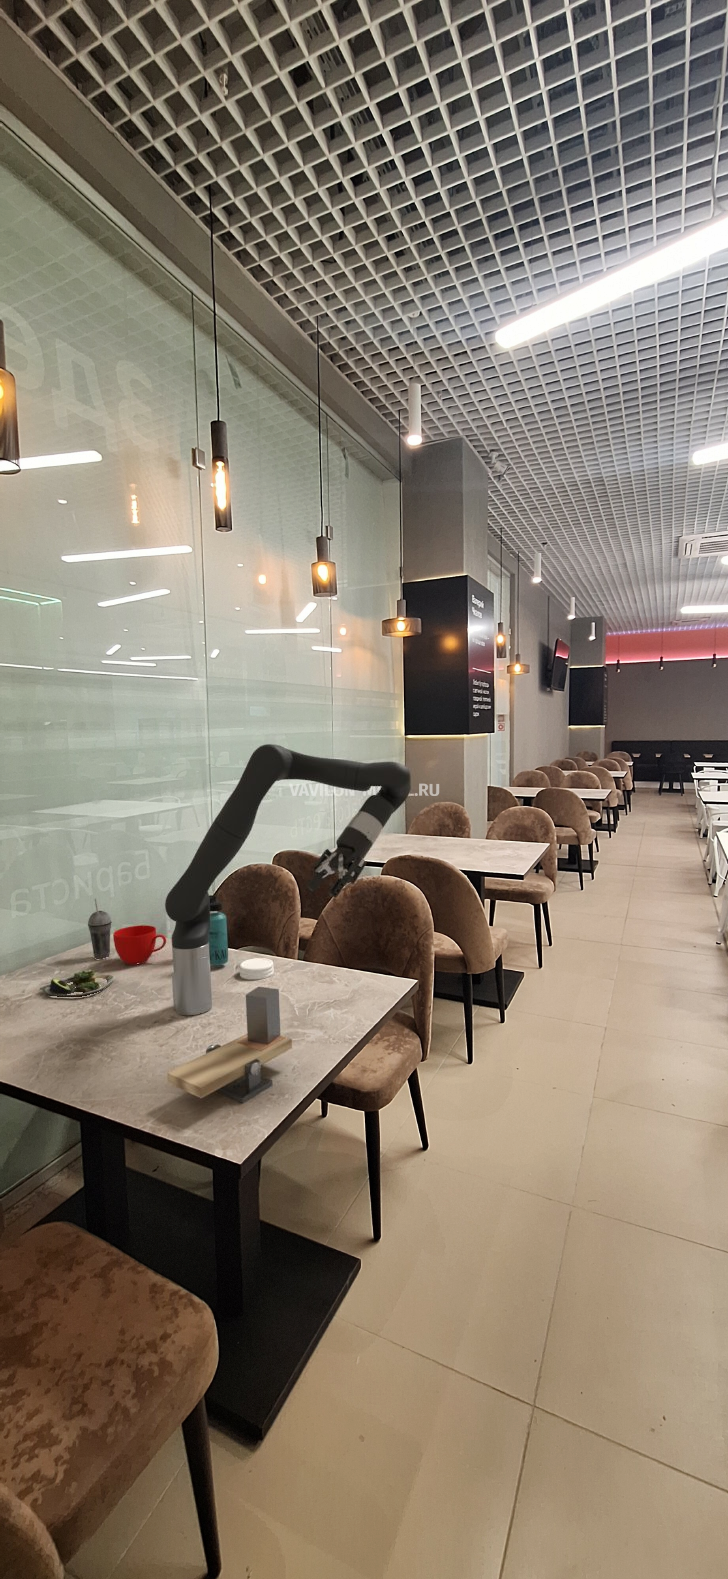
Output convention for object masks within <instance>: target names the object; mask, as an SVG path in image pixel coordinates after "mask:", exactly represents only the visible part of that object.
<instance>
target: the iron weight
mask: <svg viewBox="0 0 728 1579" xmlns="http://www.w3.org/2000/svg"><path fill="white" fill-rule="evenodd" d="M279 989H280V988H272V987H265V986H257V987H256V988H254V989H253V990H251V991H250V992H248V993H246V994H245V1005H246V1006H245V1007H246V1026H247V1027H246V1030H247V1033H246V1034H247V1036H248V1041H249V1042H255V1043H260V1044H266V1045H269V1044H270V1043H271V1042H272V1041H274V1040H275V1039H276V1038H277V1037H279V1036H280V1035H281V1018H280V1017H281V1015H280V1014H281V1013H280V990H279ZM281 1036H282V1035H281Z"/></svg>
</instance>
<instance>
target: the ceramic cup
mask: <svg viewBox="0 0 728 1579" xmlns="http://www.w3.org/2000/svg"><path fill="white" fill-rule="evenodd" d="M158 938H161V939H162V941H163V942H162V944H161V946H159V947H157V948H156V947H155V946H156V942H157V939H158ZM112 939H113V943H114V949H115V951H116V953H117V955H118V957H119V958H120V959H121V961H123V962H124V963H125V964H126V963H128V964H137V963H142V962H145V961H146V962H147V961H148V960H149V959H150V957H151V956H152V955H153V953H156V952H159V951H160V950H162V949H164V947H165V946H166V944H167V938H166V936H165V935H164V934H157V928H156V926H153V925H145V924H144V925H143V924H141V925H132V926H126V927H122V928H120V929H118V930H115V931H114V932H113V937H112ZM146 962H145V963H146ZM128 964H127V965H128ZM142 964H143V963H142Z"/></svg>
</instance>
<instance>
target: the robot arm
mask: <svg viewBox="0 0 728 1579" xmlns="http://www.w3.org/2000/svg"><path fill="white" fill-rule="evenodd" d="M411 777H412V776H411V771H410V769H409V768H408V767H407V765H404V764H402V763H400V762H397V761H378V762H369V763H366V762H362V761H356V760H355V761H353V760H349V759H348V760H347V759H340V758H330V757H329V758H328V757H320V756H314V755H313V756H312V755H307V754H304V753H300V752H297V751H294V750H292V749H288V748H285V747H284V746H282V745H280V744H279V745H278V744H272V743H267V744H263V745H260V746H259V747H257V748H256V749H255V750H254V751H253V753H252V754H251V755H250V758H249V759H248V762H247V763H246V766H245V768H244V770H243V772H242V774H241V777H240V779H239V781H238V783H237V785H236V786H235V788H234V790H233V791H232V792H231V794H230V795H229V797H228V798H227V800H226V802H225V803H224V805H222V806H223V807H222V808H221V810H220V811H219V813H218V814H217V816H216V817H215V819H214V820H213V822H212V823H211V825H210V827H209V829H208V830H207V832H206V834H205V836H204V838H203V839H202V841H201V843H200V845H199V846H198V848H197V850H196V852H195V854H194V856H193V858H192V860H191V862H190V864H189V865H188V867H187V869H186V870H185V872H184V873H183V874H182V875H181V877H180V878H179V879H178V880H177V882H176V883H175V884H174V886H173V887H172V888H171V889H170V890H169V892H168V893H167V895H166V897H165V903H164V904H165V905H164V908H165V912H166V914H167V916H168V918H170V919H171V920H172V921H174V922H175V926H174V930H173V932H172V934H171V949H172V953H171V954H172V965H173V970H172V971H173V972H172V973H171V983H172V984H171V985H172V999H173V1002H172V1003H173V1009H175V1012H176V1013H177V1014H178V1015H182V1016H195V1015H196V1016H197V1015H200V1013H201V1014H204V1013H206V1012H208V1011H210V1010H211V1009H212V1007H213V998H212V997H213V996H212V995H213V993H212V979H211V978H212V976H211V965H210V956H209V931H210V900H209V895H210V894H209V890H210V888H211V886H212V884H213V883H214V881H215V880H216V879H217V877H218V876H219V875H220V874H221V873H222V872H223V871H224V870H225V869H226V868H227V866H228V865H229V864H230V863H231V861H233V859H234V858H235V857H236V855H237V854H238V852H239V851H240V849H241V848H242V846H243V845H244V843H245V841H246V840H247V839H248V837H249V835H250V833H251V831H252V829H253V826H254V824H255V821H256V817H257V813H258V810H259V807H260V806H261V803H262V802H263V799H264V798H265V796H266V795H267V794H268V792H269V791H270V789H271V788H272V787H273V785H274V784H275V783H276V782H279V781H284V780H285V781H287V780H288V781H289V780H290V781H291V780H298V781H299V780H301V781H310V782H315V783H320V784H322V785H323V784H324V785H326V786H330V787H335V788H338V789H339V788H340V789H345V790H352V791H356V792H367V791H369V790H371V787H380V788H379V790H378V792H377V793H376V794H372V795H370V796H369V797H368V798H366V800H365V801H364V802H363V803H362V806H361V807H360V808H359V810H358V811H357V812H356V814H355V815H353V817H352V818H351V820H350V821H349V822H348V824H347V825H346V827H345V828H344V829H343V831H342V832H341V834H340V835H339V836H338V838H337V839H336V841H335V843H336V845H337V846H336V849H335V850H334V851H331V850H329V848H326V849H325V850H324V851H323V853H322V854H321V855H320V857H319V858H318V859H317V861H316V862H315V863H314V865H313V866H312V870H313V871H314V875H313V876H312V877H311V879H310V881H308V883H307V888H309V890H310V891H312V892H315V891H316V890H317V889H318V887H319V886H320V884H321V883H322V882H323V880H324V878H326V877H327V876H329V875H332V874H335V873H338V878H336V880H335V881H334V882H333V884H332V885H331V887H330V888H329V890H328V894H329V895H330V896H331V897H332V898H337V897H338V896H339V895H340V894H341V892H342V890H343V889H344V887H345V886H346V885H348V884H350V883H351V884H356V881H357V879H358V878H359V876H360V875H361V874H362V872H363V870H364V869H365V867H366V865H367V861H366V860H365V857H366V856H367V854H369V851H370V850H371V848H372V847H373V845H374V844H375V842H376V841H377V839H378V838H379V836H380V835H381V832H382V830H383V829H384V827H385V826H386V824H387V823H388V821H389V820H390V818H391V816H392V815H393V813H395V812H396V811H397V810H398V809H399V808H400V807H401V806H402V805H403V804H404V803H405V801H406V800H407V799H408V796H409V795H410V792H411V788H412V784H411V783H412V782H411V779H412V778H411ZM353 873H354V874H353Z"/></svg>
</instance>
